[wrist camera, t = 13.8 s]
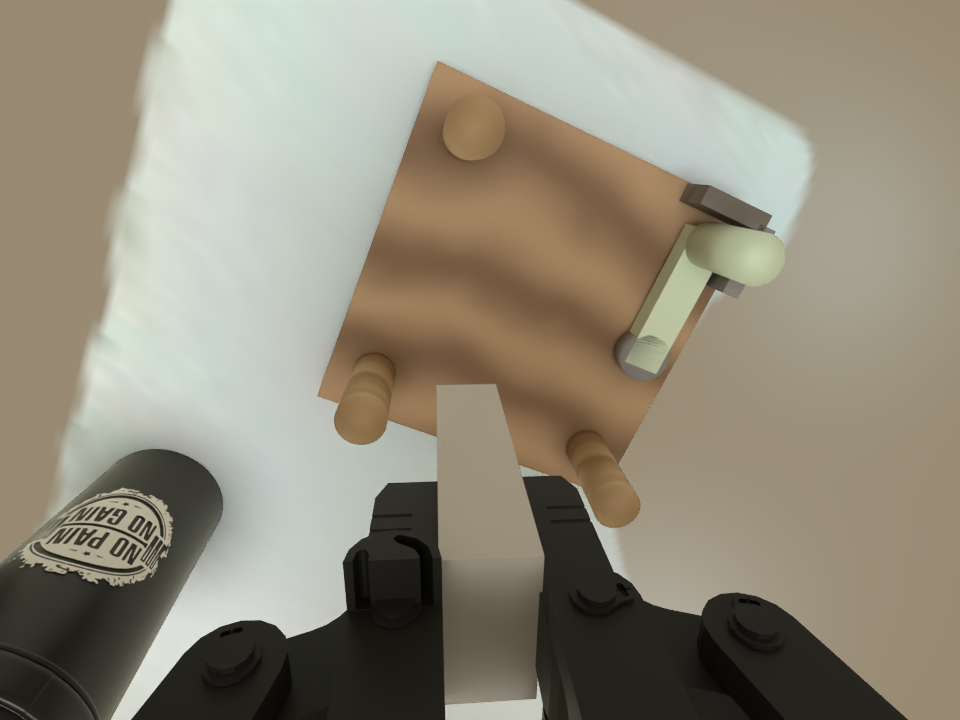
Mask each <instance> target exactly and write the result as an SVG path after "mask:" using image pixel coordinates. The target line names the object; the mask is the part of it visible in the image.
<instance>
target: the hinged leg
mask: <svg viewBox="0 0 960 720" xmlns="http://www.w3.org/2000/svg"><path fill="white" fill-rule="evenodd" d="M785 257H786V252H785V247H784V245H783V243H782V241H781V240H780V239H779V238H778V237H777V236H775V235H774V234H771V233H767V232H762V231H757V230H752V229H747V228H742V227H737V226H732V225H727V224H722V223H717V222H705V223H702V224H700V225H698V226H693V225H689V224H685V226H684V228H683V230H682V232H681V234H680V236H679V237H678V239H677V241H676V243H675V245H674V247H673V249H672V251H671V253H670V255H669V256H668V258H667V260H666V262H665V264H664V266H663V268H662V270H661V272H660V274H659V275H658V277H657V279H656V281H655V283H654V285H653V287H652V289H651V291H650V293H649V295H648V296H647V298H646V300H645V302H644V304H643V306H642V308H641V310H640V312H639V314H638V315H637V317H636V319H635V321H634V323H633V325H632V327H631V329H630V331H628V332H627V333H625V334H624V335H623V336H622V337H621V338H620V339H619V340H618V342H617V344H616V346H615V351H614V356H615V360H616V362H617V364H618V365H619V367H620V368H621V369H622V370H623V371H624V372H625V373H626V374H627V375H628V376H629V377H630V378H632V379H634V380H636V381H649V380H652V379H654V378H656V377H658V376H659V375H660V374H661V373H662V372H663V371H664V370H665V369H666V367H667V365H668V362H669V356H670V355H669V350H670V348H671V346H672V345H673V343H674V341H675V339H676V337H677V336H678V334H679V332H680V330H681V328H682V327H683V325H684V323H685V321H686V319H687V318H688V316H689V314H690V312H691V310H692V309H693V307H694V305H695V303H696V301H697V300H698V298H699V296H700V294H701V292H702V290H703V289H704V287H705V285H706V283H707V281H708V280H709V278H710V276H711V274H712V272H713V273H716V274H719V275H721V276H724V277H727V278H729V279H732V280H734V281H737V282H740V283H742V284H745V285H747V286H753V287H756V286H762V285H765V284H767V283H769V282H771V281H772V280H773V279H774V278H775V277H776V276H777V275H778V274H779V273H780V271H781V270H782V268H783V265H784V262H785Z"/></svg>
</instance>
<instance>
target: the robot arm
mask: <svg viewBox="0 0 960 720" xmlns="http://www.w3.org/2000/svg"><path fill="white" fill-rule="evenodd" d="M436 386H437V472H438V482H410V483H388V484H387V485H386V486H385V488H384V489H383V490H382V491H381V492H380V493H379V495H378V496H377V497H376V498H375V503H374V509H373V514H372V520H371V526H370V533H369V536H368V537H366V538H363V539H361V540H360V541H359V542H358V543H357V544H355V545H354V546H353V547H352V548H351V549H349V551H348V553H347V555H346V557H345V559H344V561H343V570H344V581H345V592H346V603H347V610H346V611H345V612H344V613H343V614H342V615H341V616H340V617H338V618H337V619H335V620H334V621H332V622H330V623H329V624H327V625H325V626H323V627H320V628H318V629H315V630H313V631H310V632H306V633H303V634H300V635H297V636H294V637H290V638H287V639H286V636H285V635H284V634H283V633H282V632H281V631H280V630H279V629H278V628H277V626H275V625H272V624H269V623H266V622H264V621H261V620H256V621H239V622H235V623H232V624H228V625H225V626H222V627H219V628H217V629H216V630H214V631H212V632H210V633H209V634H207V635H205V636H203V637H202V638H200V639H199V640H198V641H197V642H196V643H195V644H194V645H193V646H192V647H191V648H190V649H188V650H187V651H186V652H185V653H184V654H183V656H182V657H181V658H180V659H179V661H178V662H177V663H176V664H175V666H174V667H173V668H172V669H171V671H170V672H169V673H168V674H167V676H166V677H165V678H164V679H163V681H162V682H161V683H160V684H159V686H158V687H157V688H156V689H155V691H154V692H153V693H152V694H151V696H150V697H149V698H148V699H147V701H146V702H145V703H144V704H143V706H142V707H141V708H140V709H139V711H138V712H137V713H136V714H135V716H134V717H133V718H132V719H131V720H445V705H446V704H461V703H477V702H492V701H508V700H523V699H536V695H537V677H538V682H539V687H540V692H541V697H542V702H543V712H542V720H908V719H906V718H905V717H904V716H903V715H902V714H901V713H900V712H899V711H898V710H896V709H895V708H894V707H893V706H892V705H891V704H889V702H888V701H886V700H885V699H884V698H883V697H882V696H881V695H880V694H879V693H877V692H876V691H875V690H874V689H873V688H872V687H871V686H870V685H869V684H867V683H866V682H865V681H864V680H863V679H862V678H861V677H860V676H859V675H857V674H856V673H855V672H854V671H853V670H852V669H851V668H850V667H849V666H847V665H846V664H845V663H844V662H843V661H842V660H841V659H840V658H839V657H837V656H836V655H835V654H834V653H833V652H832V651H831V650H830V649H828V648H827V647H826V646H825V645H824V644H823V643H822V642H821V641H820V640H818V639H817V638H816V637H815V636H814V635H813V634H812V633H811V632H810V631H808V630H807V629H806V628H805V627H804V626H803V625H802V624H801V623H799V622H798V621H797V620H796V619H795V618H794V617H793V616H791V615H790V614H788V613H787V612H786V611H784V610H783V609H781V608H780V607H778V606H777V605H775V604H773V603H771V602H769V601H766V600H763V599H761V598H759V597H757V596H752V595H747V594H741V593H728V594H720V595H718V596H716V597H714V598H712V599H710V600H708V602H707V604H706V605H705V607H704V609H703V611H702V616H699V615H694V614H689V613H684V612H679V611H674V610H669V609H665V608H661V607H658V606H655V605H652V604H650V603H648V602H645V601H643V599H642V597H641V595H640V594H639V592H638V591H637V590H636V588H635V587H634V586H633V584H632V583H631V582H629V581H628V580H626V579H625V578H623V577H622V576H621V575H619V574H618V573H615V572H614V571H613V569H612V567H611V565H610V562H609V560H608V558H607V556H606V553H605V551H604V549H603V547H602V544H601V542H600V540H599V537H598V535H597V533H596V531H595V528H594V526H593V524H592V522H590V517H589V515H588V513H587V510H586V508H584V504H583V501H582V499H581V497H580V495H579V492H578V490H577V489H576V488H575V487H574V486H573V485H572V484H570V483H569V482H568V481H567V480H566V479H565V478H563V477H562V476H534V477H522V475H521V471H520V468H519V464H518V461H517V457H516V454H515V450H514V446H513V443H512V439H511V436H510V432H509V429H508V425H507V422H506V418H505V415H504V411H503V408H502V404H501V400H500V397H499V393H498V390H497V386H496V384H469V385H436Z"/></svg>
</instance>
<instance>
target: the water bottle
mask: <svg viewBox="0 0 960 720" xmlns="http://www.w3.org/2000/svg"><path fill="white" fill-rule="evenodd" d="M222 510H223V500H222V495H221V491H220V489H219V486H218V484H217V482H216V481H215V479H214V478H213V476H212V475H211V474H210V473H209V472H208V471H207V470H206V469H205V468H204V467H203V466H202V465H200V464H199V463H198V462H196V461H194V460H193V459H191V458H189V457H187V456H185V455H182V454H179V453H176V452H172V451H167V450H143V451H139V452H135V453H132V454H130V455H128V456H126V457H124V458H122V459H121V460H119V461H118V462H117V463H116V464H115V465H113V466H112V467H111V468H110V469H109V470H108V471H106V472H105V473H104V474H103V475H102V476H101V477H99V478H98V479H97V480H96V481H95V482H94V483H93V484H91V485H90V486H89V487H88V488H87V489H86V490H84V491H83V492H82V493H81V494H80V495H79V496H77V497H76V498H75V499H74V500H73V501H72V502H71V503H69V504H68V505H67V506H66V507H65V508H64V509H62V510H61V511H60V512H59V513H58V514H57V515H55V516H54V517H53V518H52V519H51V520H50V521H49V522H47V523H46V524H45V525H44V526H43V527H42V528H40V529H39V530H38V531H37V532H36V533H35V534H33V535H32V536H31V537H30V538H29V539H28V540H27V541H25V542H24V543H23V544H22V545H21V546H20V547H18V548H17V549H16V550H15V551H14V552H13V553H12V554H10V555H9V556H8V557H7V558H6V559H5V560H4V561H2V562H1V563H0V720H111V718H112V716H113V714H114V712H115V711H116V709H117V707H118V705H119V703H120V701H121V700H122V698H123V696H124V694H125V692H126V690H127V689H128V687H129V685H130V683H131V681H132V680H133V678H134V676H135V674H136V672H137V670H138V669H139V667H140V665H141V663H142V661H143V659H144V658H145V656H146V654H147V652H148V650H149V648H150V647H151V645H152V643H153V641H154V639H155V637H156V636H157V634H158V632H159V630H160V628H161V626H162V625H163V623H164V621H165V619H166V617H167V616H168V614H169V612H170V610H171V608H172V606H173V605H174V603H175V601H176V599H177V597H178V595H179V594H180V592H181V590H182V588H183V586H184V584H185V583H186V581H187V579H188V577H189V575H190V573H191V572H192V570H193V568H194V566H195V564H196V563H197V561H198V559H199V557H200V555H201V553H202V552H203V550H204V548H205V546H206V544H207V542H208V541H209V539H210V537H211V535H212V533H213V531H214V530H215V528H216V526H217V524H218V522H219V520H220V518H221V515H222Z"/></svg>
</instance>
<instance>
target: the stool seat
mask: <svg viewBox="0 0 960 720" xmlns="http://www.w3.org/2000/svg"><path fill="white" fill-rule="evenodd" d="M771 217H772V215H770V214H768V213H766V212H764V211H762V210H760V209H757V208H755V207H753V206H751V205H749V204H747V203H745V202H743V201H741V200H739V199H737V198H735V197H733V196H731V195H729V194H727V193H725V192H723V191H721V190H718V189H716V188H714V187H712V186H710V185H698V184H691V183H689V182H687V181H685V180H683V179H681V178H679V177H677V176H675V175H672V174H670V173H668V172H666V171H664V170H662V169H660V168H658V167H656V166H654V165H652V164H650V163H648V162H646V161H644V160H641V159H639V158H637V157H635V156H633V155H631V154H629V153H627V152H625V151H623V150H621V149H619V148H617V147H615V146H613V145H611V144H608V143H606V142H604V141H602V140H600V139H598V138H596V137H594V136H592V135H590V134H588V133H586V132H584V131H582V130H580V129H577V128H575V127H573V126H571V125H569V124H567V123H565V122H563V121H561V120H559V119H557V118H555V117H553V116H551V115H549V114H547V113H544V112H542V111H540V110H538V109H536V108H534V107H532V106H530V105H528V104H526V103H524V102H522V101H520V100H518V99H516V98H513V97H511V96H509V95H507V94H505V93H503V92H501V91H499V90H497V89H495V88H493V87H491V86H489V85H487V84H485V83H483V82H480V81H478V80H476V79H474V78H472V77H470V76H468V75H466V74H464V73H462V72H460V71H458V70H456V69H454V68H452V67H449V66H447V65H445V64H443V63H441V62H439V61H437V63H436V66H435V69H434V72H433V74H432V77H431V80H430V83H429V86H428V88H427V91H426V94H425V97H424V99H423V102H422V105H421V108H420V111H419V113H418V116H417V119H416V122H415V125H414V127H413V130H412V133H411V136H410V139H409V141H408V144H407V147H406V150H405V152H404V155H403V158H402V161H401V164H400V166H399V169H398V172H397V175H396V178H395V180H394V183H393V186H392V189H391V191H390V194H389V197H388V200H387V203H386V205H385V208H384V211H383V214H382V217H381V219H380V222H379V225H378V228H377V230H376V233H375V236H374V239H373V242H372V244H371V247H370V250H369V253H368V256H367V258H366V261H365V264H364V267H363V270H362V272H361V275H360V278H359V281H358V283H357V286H356V289H355V292H354V295H353V297H352V300H351V303H350V306H349V309H348V311H347V314H346V317H345V320H344V322H343V325H342V328H341V331H340V334H339V336H338V339H337V342H336V345H335V348H334V350H333V353H332V356H331V359H330V362H329V364H328V367H327V370H326V373H325V375H324V378H323V381H322V384H321V387H320V389H319V392H318V395H317V396H319V397H322V398H325V399H328V400H331V401H334V402H336V403H339V406H338V408H337V411H336V413H335V417H334V424H335V428H336V430H337V432H338V434H339V435H340V436H341V437H342V438H343V439H345V440H346V441H348V442H350V443H353V444H358V445H365V444H370V443H372V442H374V441H376V440H378V439H379V438H380V437H381V436H382V435H383V433H384V431H385V429H386V425H387V420H389V421H392V422H395V423H398V424H401V425H404V426H407V427H410V428H413V429H416V430H419V431H422V432H425V433H427V434H430V435H433V436H436V437H437V386H436V385H469V384H496V386H497V390H498V393H499V397H500V400H501V404H502V408H503V411H504V415H505V418H506V422H507V425H508V429H509V432H510V436H511V439H512V443H513V446H514V450H515V454H516V457H517V461H518V464H519V465H521V466H524V467H527V468H530V469H533V470H536V471H539V472H542V473H545V474H548V475H551V476H562V477H563V478H565V479H566V480H567V481H568V482H571V483H574V484H577V485H580V486H582V488H583V491H584V493H585V495H586V497H587V499H588V501H589V504H590V506H591V508H592V510H593V512H594V514H595V517H596V519H597V520H598V521H599V522H600V523H601V524H602V525H604V526H606V527H610V528H618V527H622V526H625V525H627V524H629V523H630V522H632V521H633V520H634V519H635V518H636V516H637V515H638V513H639V510H640V500H639V498H638V496H637V494H636V493H635V491H634V490H633V488H632V487H631V485H630V483H629V481H628V480H627V478H626V477H625V475H624V473H623V472H622V470H621V468H620V467H619V465H618V464H619V462H620V460H621V458H622V457H623V455H624V453H625V451H626V449H627V448H628V446H629V444H630V442H631V440H632V439H633V437H634V435H635V433H636V431H637V430H638V428H639V426H640V424H641V422H642V421H643V419H644V417H645V415H646V413H647V411H648V410H649V408H650V406H651V404H652V403H653V401H654V399H655V397H656V395H657V393H658V392H659V390H660V388H661V386H662V385H663V383H664V381H665V379H666V377H667V375H668V374H669V372H670V370H671V368H672V367H673V365H674V363H675V361H676V359H677V358H678V356H679V354H680V352H681V350H682V349H683V347H684V345H685V343H686V341H687V340H688V338H689V336H690V334H691V332H692V331H693V329H694V327H695V325H696V323H697V322H698V320H699V318H700V316H701V314H702V313H703V311H704V309H705V307H706V305H707V304H708V302H709V300H710V298H711V296H712V295H713V293H714V291H715V289H716V290H719V291H721V292H723V293H726V294H728V295H730V296H732V297H735V298H738V297H739V295H740V293H741V291H742V290H743V288H744V286H745V284H742V283H740V282H737V281H734V280H732V279H729V278H727V277H724V276H721V275H719V274H716V273H713V272H712V274H711V276H710V278H709V280H708V281H707V283H706V285H705V287H704V289H703V290H702V292H701V294H700V296H699V298H698V300H697V301H696V303H695V305H694V307H693V309H692V310H691V312H690V314H689V316H688V318H687V319H686V321H685V323H684V325H683V327H682V328H681V330H680V332H679V334H678V336H677V337H676V339H675V341H674V343H673V345H672V346H671V348H670V350H669V355H670V356H669V362H668V365H667V367H666V369H665V370H664V371H663V372H662V373H661V374H660V375H659V376H658V377H656V378H654V379H652V380H649V381H636V380H634V379H632V378H630V377H629V376H628V375H627V374H626V373H625V372H624V371H623V370H622V369H621V368H620V367H619V365H618V364H617V362H616V360H615V356H614V351H615V346H616V344H617V342H618V340H619V339H620V338H621V337H622V336H623V335H624V334H625V333H627V332H628V331H630V329H631V327H632V325H633V323H634V321H635V319H636V317H637V315H638V314H639V312H640V310H641V308H642V306H643V304H644V302H645V300H646V298H647V296H648V295H649V293H650V291H651V289H652V287H653V285H654V283H655V281H656V279H657V277H658V275H659V274H660V272H661V270H662V268H663V266H664V264H665V262H666V260H667V258H668V256H669V255H670V253H671V251H672V249H673V247H674V245H675V243H676V241H677V239H678V237H679V236H680V234H681V232H682V230H683V228H684V226H685V224H689V225H693V226H698V225H700V224H702V223H705V222H717V223H722V224H727V225H732V226H737V227H742V228H747V229H752V230H757V231H762V232H767V233H771V234H775V231H773V230H771V229H769V228H767V227H766V226H767V224H768V223H769V221H770V219H771Z"/></svg>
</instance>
